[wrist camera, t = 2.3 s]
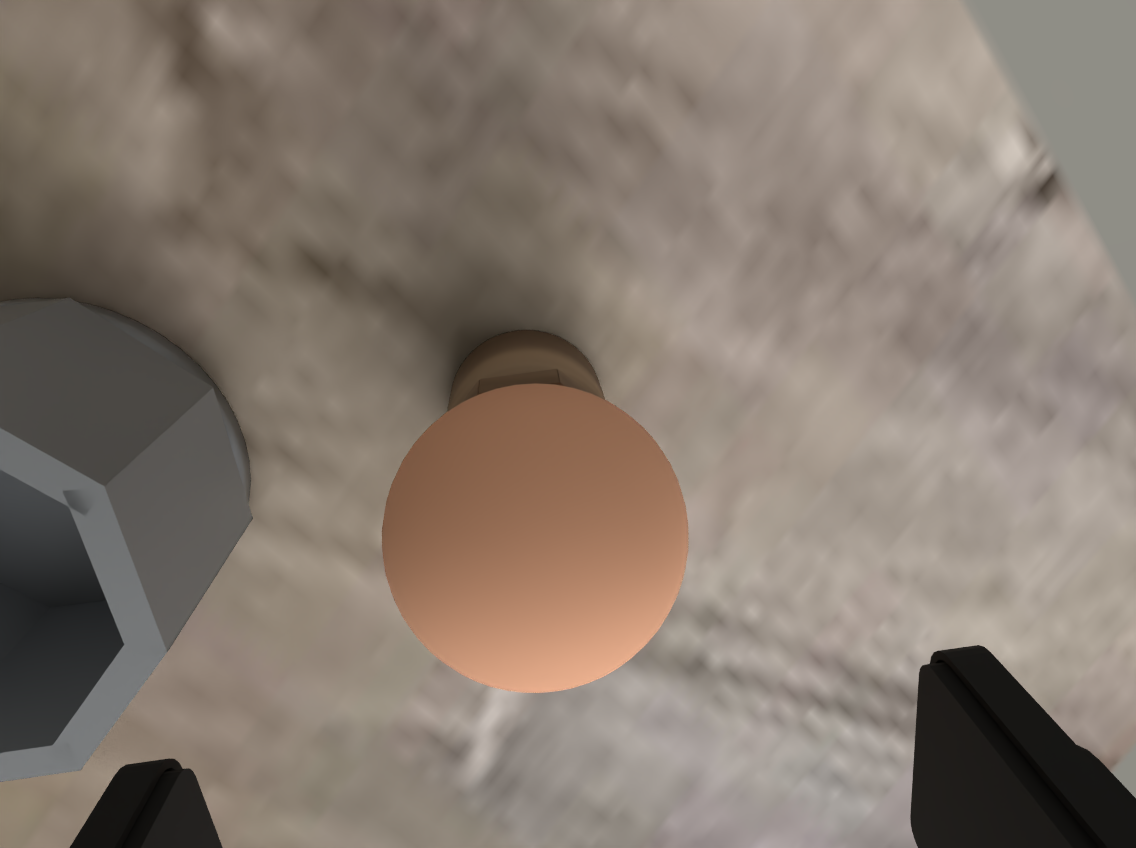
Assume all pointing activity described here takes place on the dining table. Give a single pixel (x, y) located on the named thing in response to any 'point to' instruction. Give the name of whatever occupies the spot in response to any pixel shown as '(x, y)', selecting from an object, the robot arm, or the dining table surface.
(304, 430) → the dining table surface
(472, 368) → the stand
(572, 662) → the ball
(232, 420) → the grey octagonal pot
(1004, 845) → the robot arm
